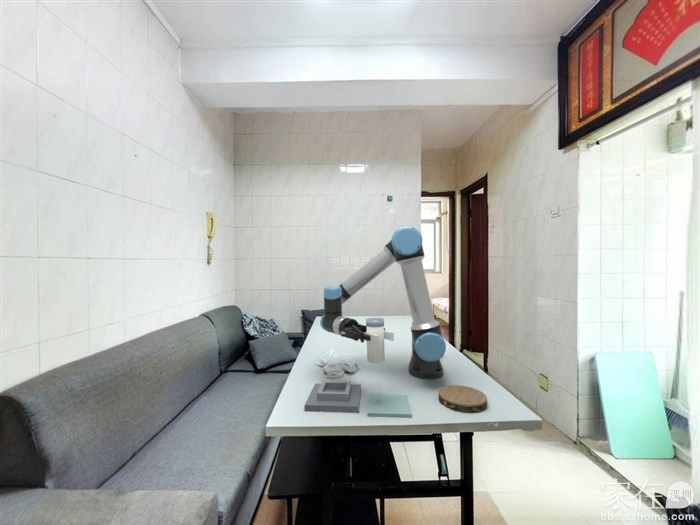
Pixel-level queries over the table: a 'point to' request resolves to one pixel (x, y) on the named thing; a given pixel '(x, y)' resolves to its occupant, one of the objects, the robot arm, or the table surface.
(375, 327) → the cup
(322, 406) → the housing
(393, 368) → the table surface
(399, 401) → the mat
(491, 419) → the table surface
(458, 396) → the wood slice coaster
